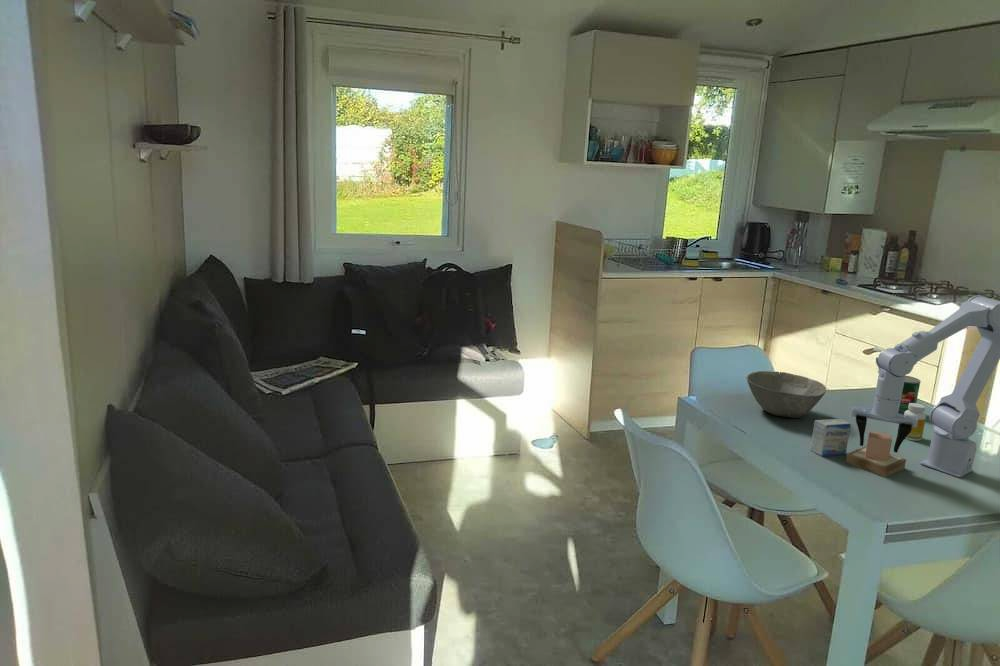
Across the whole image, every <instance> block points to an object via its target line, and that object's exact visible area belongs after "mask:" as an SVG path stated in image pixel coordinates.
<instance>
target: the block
mask: <svg viewBox="0 0 1000 666" xmlns="http://www.w3.org/2000/svg"><path fill="white" fill-rule="evenodd" d="M892 436H893V435H892V434H889V433H883V432H880V431H879V432H878V431H875V430H874V431H873V430H869V432H868V437H867V442H866V446H867V447H866V457H867V458H872V459H877V460H882V461H887V462H888V459H889V454H891V453H890V452H891V448H892V443H893V437H892Z"/></svg>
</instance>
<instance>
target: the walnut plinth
mask: <svg viewBox="0 0 1000 666" xmlns="http://www.w3.org/2000/svg"><path fill="white" fill-rule="evenodd" d="M866 447H867V445H865V446H862V447H861V448H858V449H856V450H854V451H851V452H848V453H847V455H846V458H845V460H846V461H845V463H846V464H847V465H848V464H849V465H851V466H854V467H857V468H859V469H862V470H865V471H868V472H870V473H871V474H876V475H878V476H881V477H883V478H887V477H889V476H892V475H894V474H895V473H897V472H900V471H902V470H904V469H905V467H906V462H907V459H906V458H904V457H900V456H898V455H894V454H891V453H890V454H889V459H888V462H887V461H882V460H877V459H872V458H867V457H866Z"/></svg>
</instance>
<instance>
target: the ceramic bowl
mask: <svg viewBox="0 0 1000 666" xmlns="http://www.w3.org/2000/svg"><path fill="white" fill-rule="evenodd" d="M745 378H746V381H747V384H748V387H749V389H750V392H751V394H752V396H753V397H754V400H755V401H756V402H757V404H758V405H759V406H760V407H761V409H763V410H764V411H765V412H768V413H769V414H771V415H774V416H778V417H783V418H790V419H791V418H792V419H797V418H801V417H803V416H805V415H806V414H808V413H809V412H810V411H811V410H812V409H813V408H814V407H815V406H816V405H817V404H818V403H819V402H820V401H821V399H822V398H823V396H824V395H825V394H826V392H827V387H826V386H825V384H823V383H822V382H819V381H818V380H815V379H812V378H809V377H806V376H802V375H798V374H793V373H789V372H784V371H772V370H771V371H767V370H762V371H760V370H759V371H754V372H750V373H749V374H747V376H746V377H745Z"/></svg>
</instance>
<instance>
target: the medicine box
mask: <svg viewBox="0 0 1000 666" xmlns="http://www.w3.org/2000/svg"><path fill="white" fill-rule="evenodd" d="M851 426H852V425H851V423H850V422H848V421H846V420H844V419H841V418H830V419H829V418H827V419H815V420H814V422H813V429H812V436H811V443H810V447H809V448H810V451H811V452H813V453H815V454H817V455H818V456H821V457H829V456H839V455H841V456H842V455H846V453H847V449H848V444H849V437H850V432H851Z"/></svg>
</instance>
